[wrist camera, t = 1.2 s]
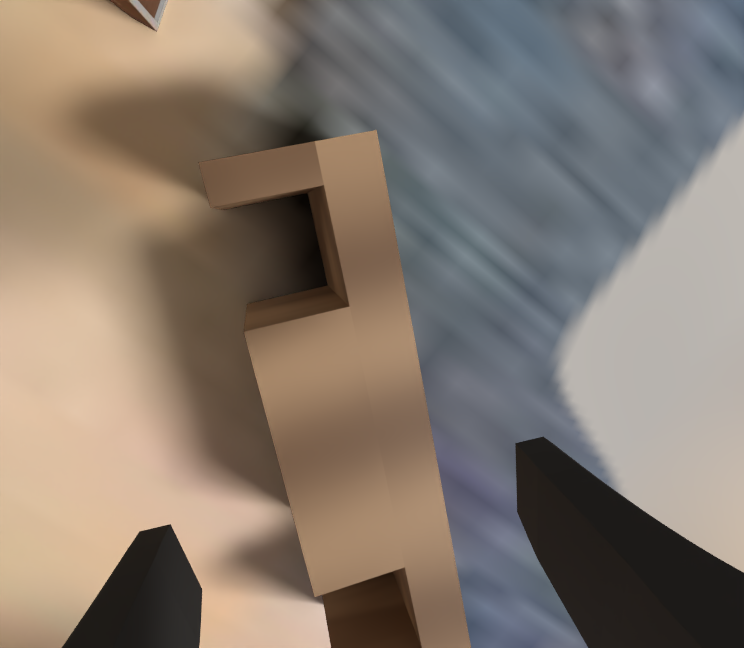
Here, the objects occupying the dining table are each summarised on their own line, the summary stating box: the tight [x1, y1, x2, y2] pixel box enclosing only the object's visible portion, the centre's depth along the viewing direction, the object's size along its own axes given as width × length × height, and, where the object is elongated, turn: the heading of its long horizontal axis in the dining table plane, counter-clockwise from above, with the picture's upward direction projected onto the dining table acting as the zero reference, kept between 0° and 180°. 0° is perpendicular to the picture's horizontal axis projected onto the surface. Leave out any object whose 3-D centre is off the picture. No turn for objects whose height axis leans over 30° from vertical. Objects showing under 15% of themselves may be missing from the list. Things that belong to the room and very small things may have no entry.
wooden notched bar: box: [198, 130, 471, 648], centre depth 19 cm, size 19×5×5 cm, turn 11°
